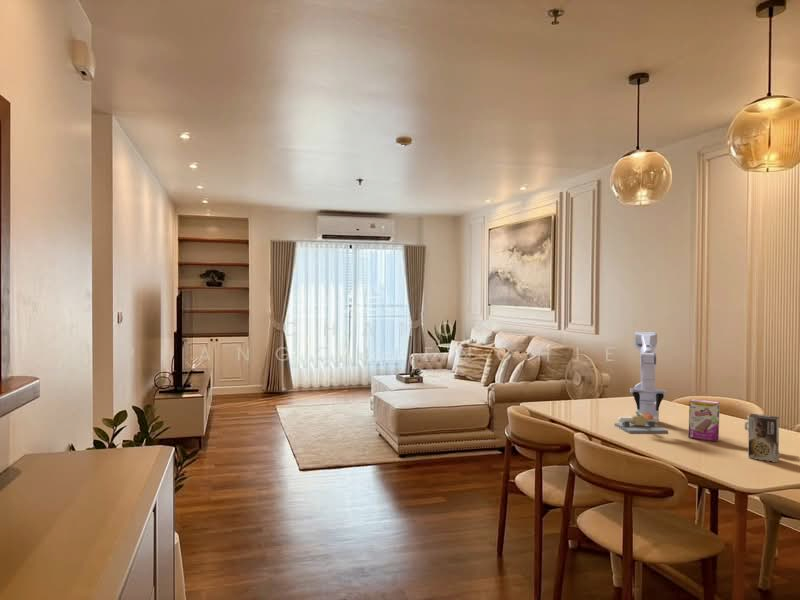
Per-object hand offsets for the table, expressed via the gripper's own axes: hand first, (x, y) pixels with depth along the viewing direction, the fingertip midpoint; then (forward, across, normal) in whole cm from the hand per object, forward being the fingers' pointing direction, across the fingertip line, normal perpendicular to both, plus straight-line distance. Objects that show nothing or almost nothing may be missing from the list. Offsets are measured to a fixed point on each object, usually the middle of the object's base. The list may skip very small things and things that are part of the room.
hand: (647, 409), depth 236 cm
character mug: (+11, +38, -15) cm, 42 cm away
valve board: (+10, -2, +7) cm, 12 cm away
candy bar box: (+11, +22, -3) cm, 24 cm away
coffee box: (+12, +35, -28) cm, 47 cm away
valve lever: (+4, -1, +4) cm, 6 cm away
